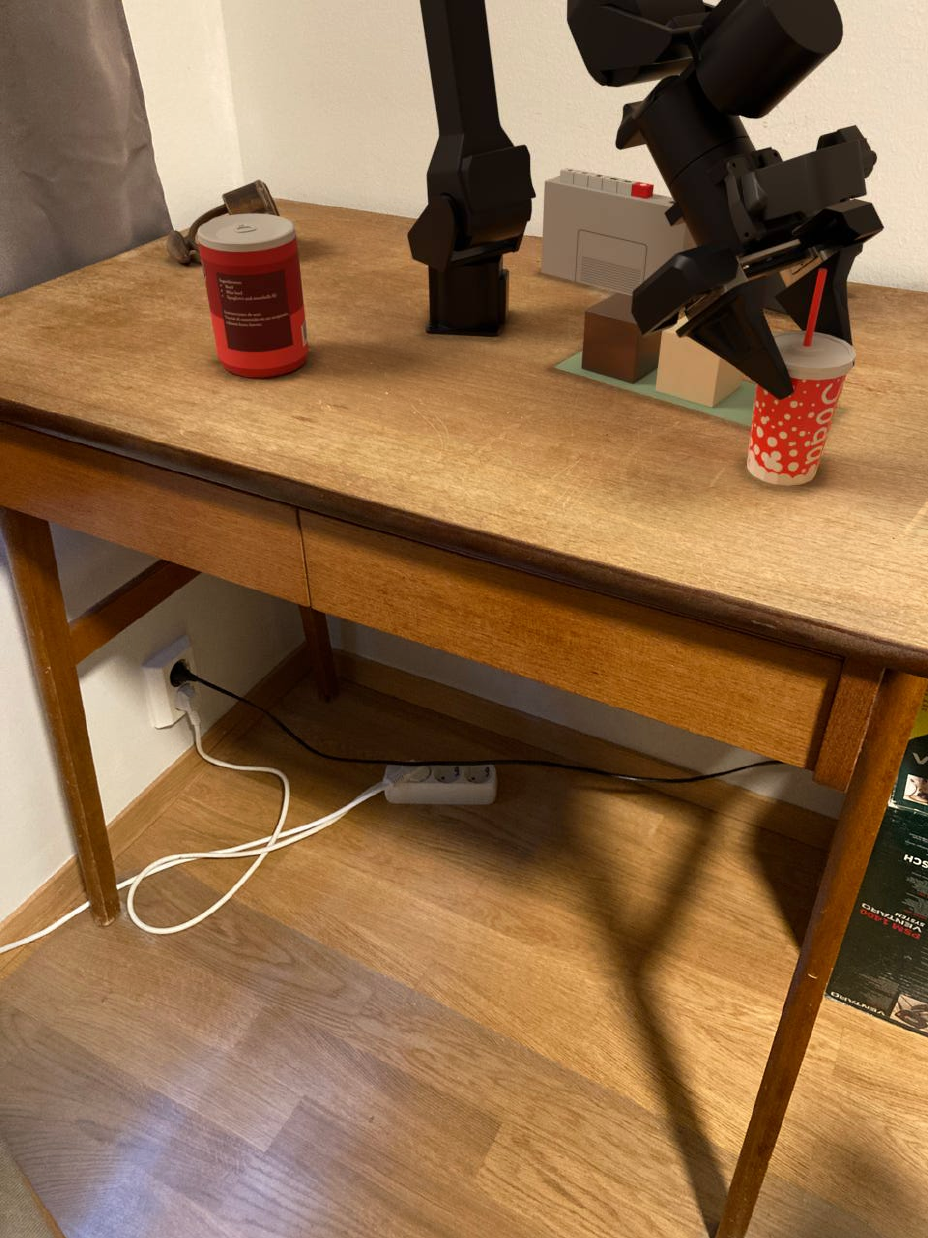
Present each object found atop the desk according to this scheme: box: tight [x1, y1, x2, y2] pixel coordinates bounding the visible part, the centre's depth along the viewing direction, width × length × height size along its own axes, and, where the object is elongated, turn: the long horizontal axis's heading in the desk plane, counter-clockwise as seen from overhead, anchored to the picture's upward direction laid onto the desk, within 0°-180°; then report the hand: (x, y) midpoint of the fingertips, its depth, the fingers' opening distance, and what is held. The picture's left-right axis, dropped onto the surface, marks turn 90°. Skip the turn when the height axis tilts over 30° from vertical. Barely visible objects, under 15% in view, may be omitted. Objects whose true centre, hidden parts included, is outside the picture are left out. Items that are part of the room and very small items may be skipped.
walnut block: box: [581, 292, 662, 384], centre depth 81 cm, size 5×5×5 cm
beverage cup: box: [746, 268, 857, 487], centre depth 65 cm, size 6×6×14 cm
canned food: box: [197, 214, 309, 379], centre depth 82 cm, size 8×8×11 cm
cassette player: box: [540, 167, 697, 296], centre depth 95 cm, size 16×3×10 cm, turn 50°
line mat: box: [553, 350, 838, 428], centre depth 80 cm, size 22×7×1 cm, turn 52°
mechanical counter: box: [166, 179, 281, 264], centre depth 105 cm, size 7×13×10 cm
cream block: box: [655, 315, 744, 408], centre depth 78 cm, size 5×5×5 cm
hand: (818, 383), depth 64 cm, fingers closed on beverage cup, 6 cm apart
